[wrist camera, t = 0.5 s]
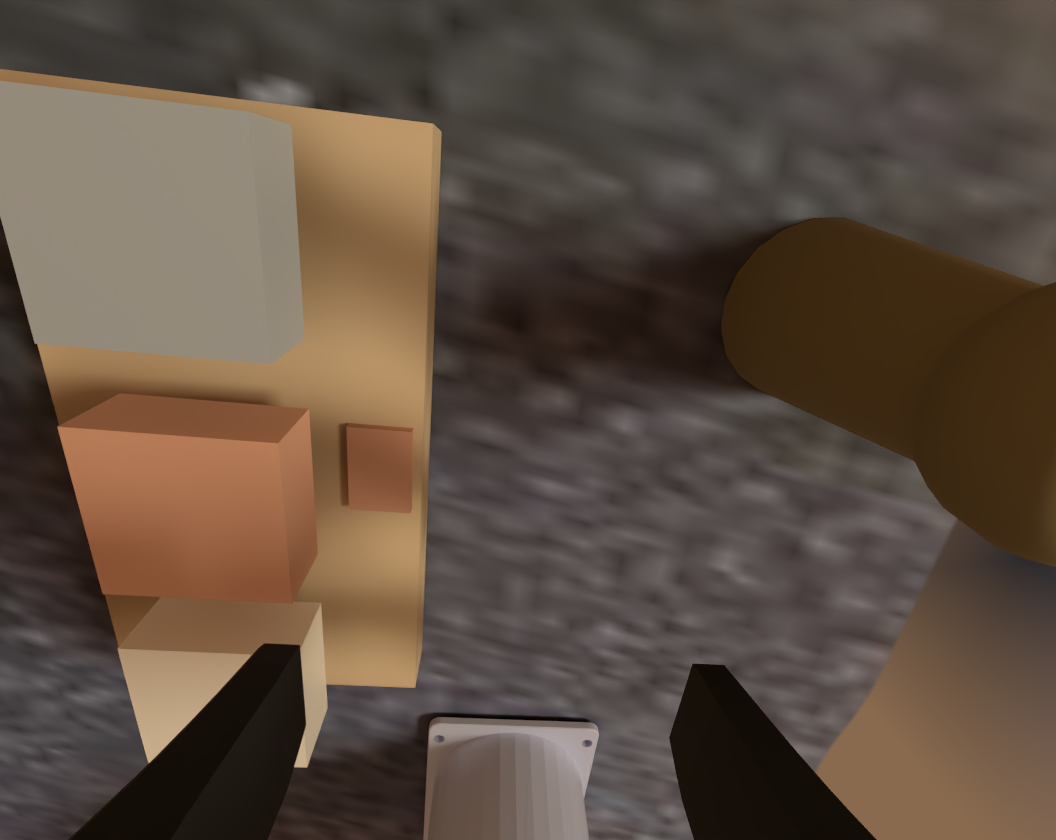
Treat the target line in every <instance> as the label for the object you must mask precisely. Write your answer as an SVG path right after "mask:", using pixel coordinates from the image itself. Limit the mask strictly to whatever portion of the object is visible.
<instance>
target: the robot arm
mask: <svg viewBox="0 0 1056 840" xmlns="http://www.w3.org/2000/svg"><path fill="white" fill-rule="evenodd" d="M305 728H306V715H305V702H304V690H303V677H302V665H301V652H300V645H291V644H270V643H264V644H263V645H262V646H260V647H259V648H258V649H257V650H256V651H255V652H254V653H253V654H252V656H251V657H250V658H249V659H248V660H247V661H246V662H245V663H244V664H243V665H242V667H241V668H240V669H239V670H238V671H237V672H236V673H235V674H234V675H233V676H232V678H231V679H230V680H229V681H228V682H227V683H226V684H225V685H224V686H223V687H222V688H221V690H220V691H219V692H218V693H217V694H216V695H215V696H214V697H213V698H212V699H211V700H210V701H209V702H208V703H207V704H206V705H205V707H204V708H203V709H202V710H201V711H200V712H199V713H198V714H197V715H196V716H195V717H194V718H193V719H192V720H191V721H190V722H189V723H188V724H187V725H186V726H185V727H184V728H183V729H182V730H181V731H180V732H179V733H178V735H177V736H176V737H175V738H174V739H173V740H172V741H171V742H170V743H169V744H168V745H167V746H166V747H165V748H164V749H163V750H162V751H161V752H160V753H159V754H158V755H157V756H156V757H155V758H154V759H153V760H152V761H151V762H150V763H149V764H148V765H147V766H146V767H145V768H144V769H143V770H142V771H141V772H140V773H139V774H138V775H137V776H136V777H135V778H134V779H132V780H131V781H130V782H129V783H128V784H127V785H126V786H125V787H124V788H123V789H122V790H121V791H120V792H119V793H118V794H117V795H116V796H115V797H114V798H112V799H111V800H110V801H109V802H108V803H107V804H106V805H105V806H104V807H103V808H102V809H101V810H100V811H99V812H98V813H97V814H96V815H95V816H93V817H92V818H91V819H90V820H89V821H88V822H87V823H86V824H85V825H84V826H83V827H82V828H81V829H80V830H79V831H77V832H76V833H75V834H74V835H73V836H72V837H71V838H70V839H69V840H267V839H268V836H269V834H270V831H271V829H272V826H273V824H274V821H275V819H276V816H277V814H278V811H279V809H280V806H281V804H282V801H283V799H284V796H285V794H286V791H287V788H288V785H289V782H290V779H291V775H292V772H293V769H294V765H295V762H296V759H297V755H298V752H299V748H300V745H301V741H302V738H303V735H304V731H305ZM598 737H599V733H598V727H597V726H596V725H595V724H593V723H590V722H567V721H539V720H511V719H483V718H454V717H437V718H434V719H433V720H432V721H430V724H429V734H428V755H427V775H426V796H425V817H424V838H423V840H589V836H588V829H587V821H586V813H585V806H584V796H585V792H586V787H587V783H588V779H589V775H590V771H591V766H592V762H593V758H594V754H595V749H596V745H597V741H598ZM669 738H670V743H671V749H672V754H673V759H674V764H675V769H676V774H677V779H678V784H679V788H680V793H681V797H682V801H683V805H684V808H685V811H686V815H687V818H688V821H689V825H690V828H691V831H692V834H693V837H694V840H876V839H875V838H874V837H873V836H872V835H871V833H870V832H868V830H867V829H866V828H865V827H864V826H863V825H862V824H861V823H860V822H859V821H858V820H857V819H856V818H855V817H854V815H853V814H852V813H851V812H850V811H849V810H848V809H847V808H846V807H845V806H844V805H843V803H842V802H841V801H840V800H839V799H838V798H837V797H836V796H835V795H834V794H833V792H831V790H830V789H829V788H828V787H827V786H826V785H825V784H824V782H822V780H821V779H820V778H819V777H818V776H817V774H816V773H815V772H814V771H813V770H812V769H811V768H810V766H809V765H808V764H807V763H806V762H805V761H804V760H803V758H802V757H801V756H800V755H799V754H798V753H797V752H796V750H795V749H794V748H793V747H792V746H791V745H790V743H789V742H788V741H787V740H786V739H785V737H784V736H783V735H782V734H781V733H780V732H779V730H778V729H777V728H776V727H775V726H774V724H773V723H772V722H771V721H770V720H769V718H768V717H767V716H766V715H765V714H764V712H763V711H762V710H761V709H760V708H759V706H758V705H757V704H756V703H755V702H754V700H753V699H752V698H751V697H750V696H749V694H748V693H747V692H746V691H745V690H744V688H743V687H742V686H741V685H740V684H739V682H738V681H737V680H736V679H735V678H734V676H733V675H732V674H731V673H730V672H729V670H728V669H727V668H726V667H725V666H724V665H710V664H693V665H692V668H691V671H690V674H689V677H688V680H687V684H686V687H685V690H684V693H683V696H682V699H681V703H680V706H679V709H678V712H677V715H676V718H675V722H674V725H673V728H672V731H671V734H670V737H669Z"/></svg>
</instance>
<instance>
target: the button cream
mask: <svg viewBox="0 0 1056 840" xmlns="http://www.w3.org/2000/svg"><path fill="white" fill-rule="evenodd" d="M264 643H270V644H291V645H300V652H301V665H302V677H303V690H304V702H305V715H306V728H305V731H304V735H303V738H302V741H301V745H300V748H299V752H298V755H297V759H296V762H295V765H294V767H307V766H308V763H309V760H310V758H311V755H312V752H313V749H314V746H315V743H316V740H317V737H318V734H319V731H320V728H321V725H322V722H323V719H324V716H325V714H326V711H327V691H326V675H325V659H324V643H323V627H322V611H321V603H315V602H296V601H294V602H293V604H285V603H266V602H246V601H227V600H208V599H189V598H169V597H161V598H160V599H159V600H158V601H157V602H156V603H155V605H154V606H153V607H152V608H151V609H150V611H149V612H148V613H147V614H146V615H145V617H144V618H143V619H142V620H141V621H140V622H139V624H138V625H137V626H136V627H135V628H134V630H133V631H132V632H131V633H130V634H129V636H128V637H127V638H126V639H125V640H124V641H123V643H122V644H121V645H120V646H119V647H118V653H119V656H120V660H121V664H122V668H123V671H124V675H125V679H126V682H127V686H128V690H129V693H130V697H131V701H132V704H133V708H134V712H135V716H136V719H137V723H138V727H139V730H140V734H141V738H142V741H143V745H144V749H145V752H146V756H147V760H148V763H150V762H151V761H152V760H153V759H154V758H155V757H156V756H157V755H158V754H159V753H160V752H161V751H162V750H163V749H164V748H165V747H166V746H167V745H168V744H169V743H170V742H171V741H172V740H173V739H174V738H175V737H176V736H177V735H178V733H179V732H180V731H181V730H182V729H183V728H184V727H185V726H186V725H187V724H188V723H189V722H190V721H191V720H192V719H193V718H194V717H195V716H196V715H197V714H198V713H199V712H200V711H201V710H202V709H203V708H204V707H205V705H206V704H207V703H208V702H209V701H210V700H211V699H212V698H213V697H214V696H215V695H216V694H217V693H218V692H219V691H220V690H221V688H222V687H223V686H224V685H225V684H226V683H227V682H228V681H229V680H230V679H231V678H232V676H233V675H234V674H235V673H236V672H237V671H238V670H239V669H240V668H241V667H242V665H243V664H244V663H245V662H246V661H247V660H248V659H249V658H250V657H251V656H252V654H253V653H254V652H255V651H256V650H257V649H258V648H259V647H260V646H262V645H263V644H264Z"/></svg>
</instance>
